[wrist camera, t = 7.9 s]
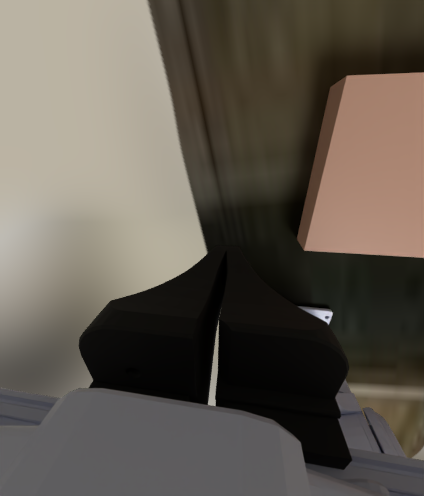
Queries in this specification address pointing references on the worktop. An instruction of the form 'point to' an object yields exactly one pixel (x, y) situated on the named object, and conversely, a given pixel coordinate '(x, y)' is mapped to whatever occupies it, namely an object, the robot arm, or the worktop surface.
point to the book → (369, 169)
